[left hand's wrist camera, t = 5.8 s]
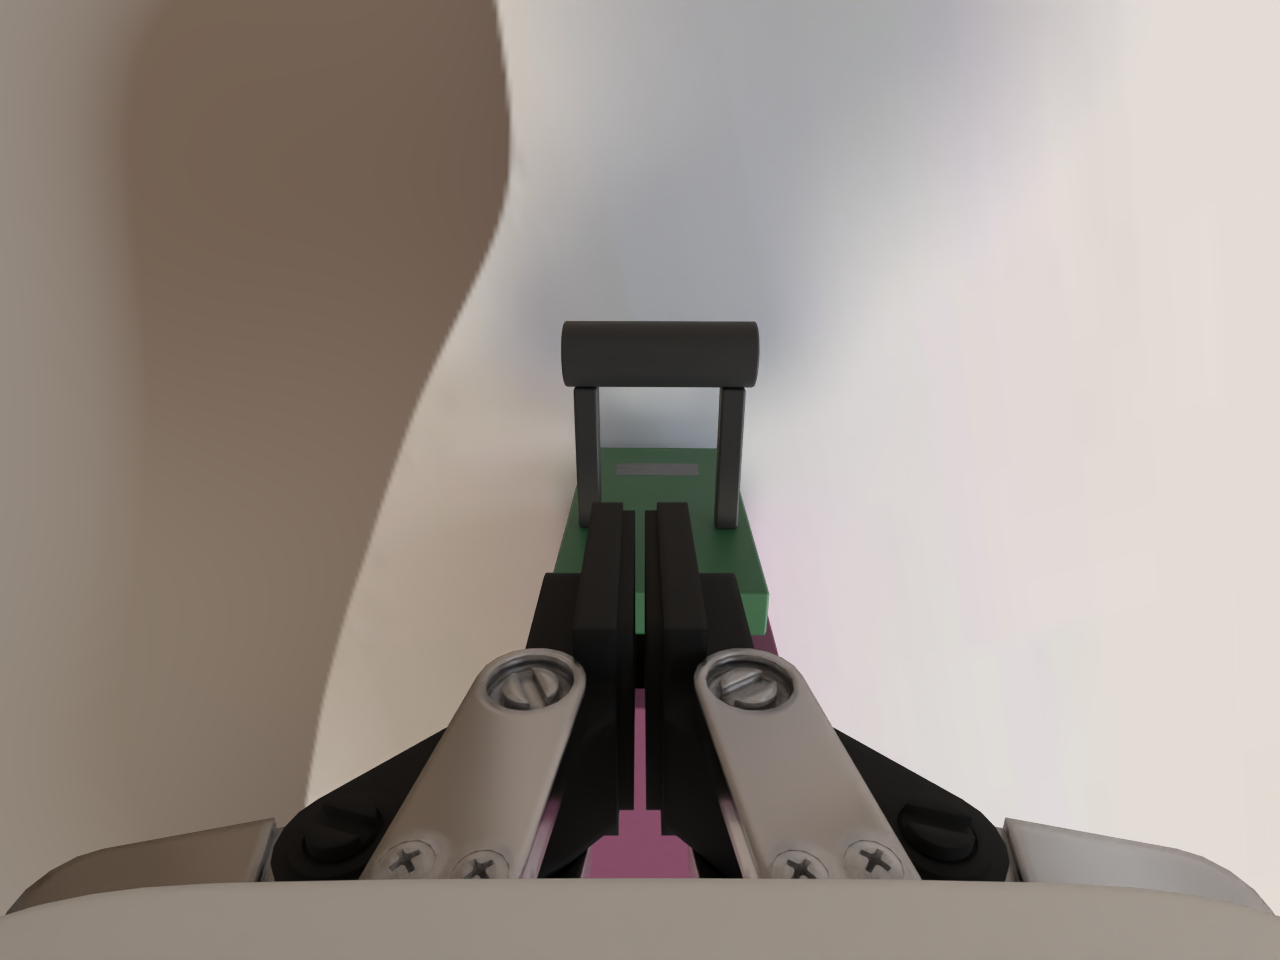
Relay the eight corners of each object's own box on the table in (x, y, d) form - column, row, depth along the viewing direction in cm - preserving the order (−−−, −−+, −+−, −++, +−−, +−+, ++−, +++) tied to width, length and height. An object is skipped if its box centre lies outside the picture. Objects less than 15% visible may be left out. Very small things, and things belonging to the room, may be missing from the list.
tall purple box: (574, 502, 26) (522, 707, 16) (738, 504, 26) (793, 710, 16) (588, 834, 33) (557, 1131, 23) (718, 837, 33) (747, 1136, 23)
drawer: (581, 289, 22) (532, 352, 14) (736, 289, 22) (790, 352, 14) (597, 793, 31) (574, 1034, 22) (710, 795, 31) (732, 1038, 22)
